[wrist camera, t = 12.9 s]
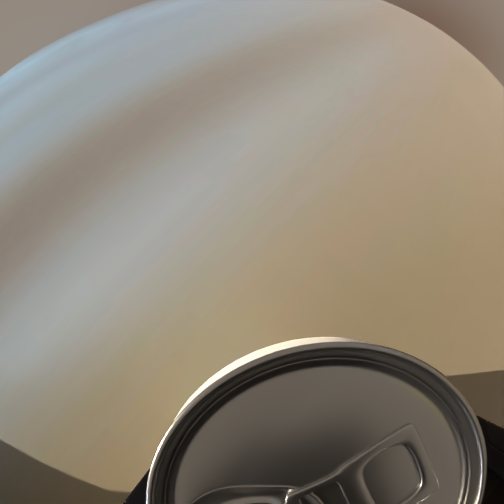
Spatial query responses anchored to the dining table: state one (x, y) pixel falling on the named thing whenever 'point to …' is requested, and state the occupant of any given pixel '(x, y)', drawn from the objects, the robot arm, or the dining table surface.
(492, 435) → the robot arm
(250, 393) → the can
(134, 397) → the dining table surface
